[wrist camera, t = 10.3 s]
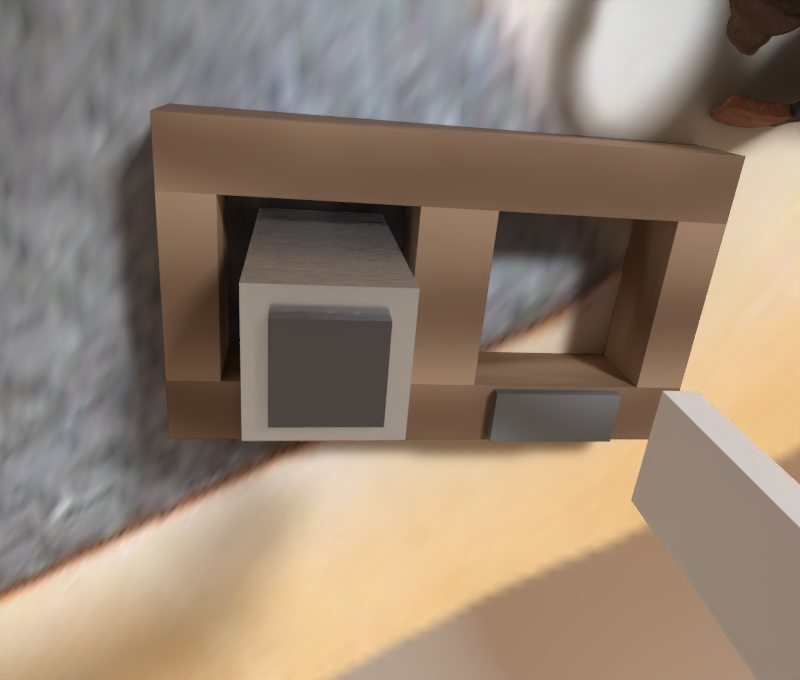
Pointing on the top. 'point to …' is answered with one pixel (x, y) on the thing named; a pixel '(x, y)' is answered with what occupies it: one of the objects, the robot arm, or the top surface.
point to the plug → (325, 328)
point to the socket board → (445, 260)
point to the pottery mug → (749, 30)
